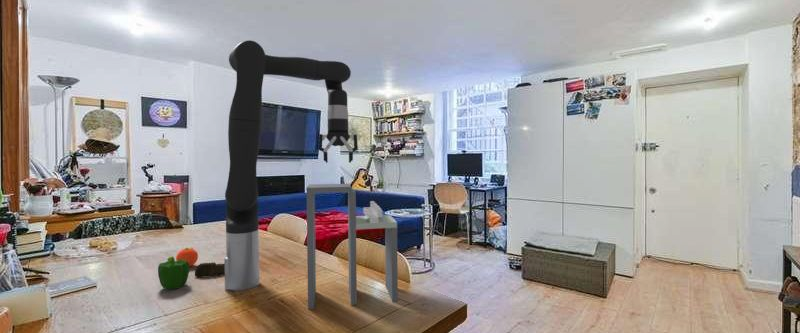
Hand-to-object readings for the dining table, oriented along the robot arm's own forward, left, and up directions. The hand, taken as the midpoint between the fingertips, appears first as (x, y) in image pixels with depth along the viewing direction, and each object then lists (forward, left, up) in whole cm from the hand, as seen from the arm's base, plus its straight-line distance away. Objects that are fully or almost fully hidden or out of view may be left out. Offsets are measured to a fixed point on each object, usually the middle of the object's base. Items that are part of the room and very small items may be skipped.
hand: (338, 162), depth 128 cm
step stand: (+3, -31, -38) cm, 49 cm away
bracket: (+9, -27, -16) cm, 33 cm away
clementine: (-55, +10, -38) cm, 68 cm away
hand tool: (-39, -2, -39) cm, 55 cm away
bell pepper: (-51, -12, -38) cm, 65 cm away
